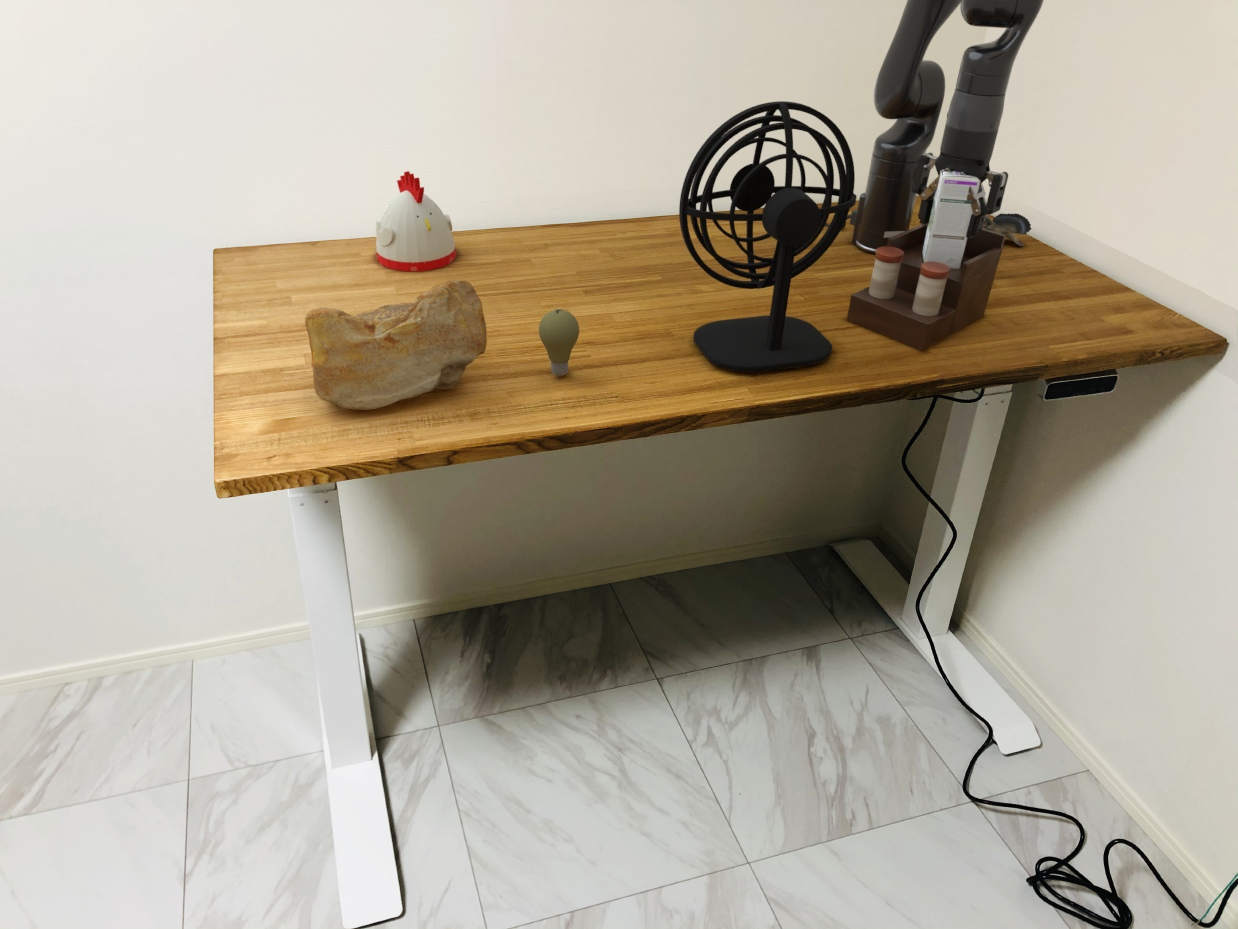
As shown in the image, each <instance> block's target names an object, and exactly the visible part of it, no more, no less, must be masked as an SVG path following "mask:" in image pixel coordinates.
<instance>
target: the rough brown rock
mask: <svg viewBox="0 0 1238 929" xmlns="http://www.w3.org/2000/svg"><path fill="white" fill-rule="evenodd" d="M483 308H484V307H483V302H482V300H481V297H480V296H479V295H478V293H477V291H476V290H475V288H474V286H473V283H471V282H470V281H467V280H465V279H464V280H463V279H451V280H448V281H445V282H441V283H437V284H435V285H433V286H432V287H431V288H429V289H427V290H425V291H423V292H421V293H420V294H419V295H418V296H417V297H416V299H415V300H414V301H413V302H399V303H393V304H386V305H383V306H379V307H378V308H376V309H372V310H368V311H364V312H362V313H358V314H356V315H353V314H349V313H347V312H345V311H343V310H341V309H338V308H331V307H318V308H312V309H311V310H309V311H308V312H307V313H306V315H305V316H304V317H305V318H304V324H305V329H306V332H307V335H308V336H307V337H308V343H309V347H310V353H311V368H312V373H313V374H312V376H313V378H312V379H313V389H314V391H315V395H316V396H317V397H318V398H319V399H320V400H322V401H324V402H327V403H330V404H334V405H337V406H338V407H340V408H343V409H348V410H360V411H361V410H366V411H370V410H376V409H381V408H384V407H388V406H390V405H393V404H394V403H398V402H400V401H403V400H406V399H412V398H416V397H419V396H420V395H423V394H426V393H429V392H431V391H433V390H434V389H438V390H445V389H452V388H455V387H456V386H457V385H458V384H459V383H460V381H461V380H462V377H463V375H464V372H465V371H466V368H467V366H469V365H470V364H472V363H473V362H474V360H475V359H477V358H478V356H481V355H483V354H485V352H486V349H487V345H488V344H487V343H488V338H487V323H486V320H485V315H484V309H483Z"/></svg>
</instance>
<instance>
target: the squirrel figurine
mask: <svg viewBox="0 0 1238 929" xmlns="http://www.w3.org/2000/svg"><path fill="white" fill-rule="evenodd" d="M1031 226H1032V224H1031V223H1030V221H1029V219H1028V218H1027V217H1025V216H1024V215H1022V214H1020V213H999V214H997V215H996V216H994V217H993V218H992V219H991V218H990V217H989V215H987V214H986V215H985V219H984V223H983V227H982V228H984V229H987V230H990V231H994V232H997V233H1000V234H1003V235H1006V237H1005V238H1007V239H1009V240H1011V241H1012V242H1014V244H1016V245H1017V246H1019V247H1024V246H1025V245H1024V243H1022V242H1021V241H1020V240H1019V239H1018V237H1017V236H1016V235H1015V234H1018V235H1027V233H1029V232H1030V231H1031V230H1032V227H1031Z"/></svg>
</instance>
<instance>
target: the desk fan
mask: <svg viewBox="0 0 1238 929" xmlns="http://www.w3.org/2000/svg"><path fill="white" fill-rule="evenodd" d="M777 111H779V113H780V115H779V114H775V113H776V112H777ZM790 111H798V112H801V113H805V114H808V115H811V116H813V117H815V118H816V119H818V120H819V121H820V122H822V123H823V124H824V125H825V126H826V127H827V128H828V129H829V130H830V132H831V133H832V134H833V135H834V137H835V139H836V141H837V143H838V145H839V147H840V150H841V153H842V156H841V154H840V152H839V150H838V149H837V148H836V146H835V144H834V143H833V142H832V141H831V140H830V139H829V138H828V137H827V136H826V135H824V134H823V133H821V132H819V130H817V129H815V128H813V127H810V126H809V125H807V124H806V123H804V122H802V121H800V120H799V119H796V118H794V117H791V114H790ZM763 113H765V114H764V115H761V116H757V115H760V114H763ZM754 116H757V117H754ZM753 117H754V118H753ZM750 118H751V119H750ZM747 119H748V120H747ZM745 120H746V121H745ZM760 124H761V125H760ZM758 125H760V127H758V128H755V129H753V130H751V131H749V132H748V133H746V134H744V135H743V136H742V137H740V138H739V139H737V140H736V141H734V143H733V144H731V145H730V146H729V147H728V148H727V149H726V150H725V151H724V153H722V155H721V156H720V157H719V159H717V161H716V163H715V165H714V166H713V167H712V169H711V171H710V173H709V175H708V177H707V179H706V181H705V184H704V187H703V190H702V192H701V193H702V194H698V193H699V188H700V184H701V182H702V179H703V176H704V174H705V172H706V170H707V168H708V166H709V164H710V163H711V161H712V160H713V159H714V157H715V156H716V154H717V153H718V152H719V151H720V149H721V148H722V147H723V146H724V145H725V144H726V143H727V142H729V141H730V140H731V139H732V138H734V137H735V136H736V135H738V134H740V133H741V132H743V131H745V130H747V129H749V128H751V127H755V126H758ZM779 130H784V140H785V142H784V141H783V140H780V139H778V138H774V137H767V133H770V132H774V131H779ZM793 130H798V131H802V132H805V133H808V134H809V135H810V136H811V137H812V138H813V139H814V141H815V142H816V143H817V145H818V148H819V149H820V151H821V153H822V156H823V159H824V162H825V168H826V169H825V170H826V171H825V170H824V169H823V168H822V166H821V165H820V164H818V162H816V161H815V160H813V159H811V158H810V157H808V156H806V155H803V154H800V153H799V154H798V152H797V151H796V150H795V149H794V132H793ZM764 143H774V144H779V145H781V146H783V147H785V153H781V154H777V155H773V156H771V157H769V158H766V159H764V160H763V161H761V156H762V152H763V148H764ZM753 144H756V145H755V149H754V153H753V160H752V163H748V164H746V165H744V166H743V167H742V168H740V169H739V170H738V171H737V172H736V173H735V175H733V178H732V179H731V182H730V186H729V189H724V190H718V191H714V188H715V183H716V181H717V178H718V176H719V174H720V172H721V170H722V169H723V167H724V166H725V165H726V163H727V162H728V161H729V160H730V159H731V157H733V156H734V155H735V154H737V153H738V152H739V151H740V150H742V149H744V148H746V147H749V146H750V145H753ZM831 155H832V157H833V159H834V161H835V165H836V168H837V172H838V176H839V177H838V178H839V179H838V180H839V188H835V187H834V186H835V185H834V184H835V172H834V170H835V169H834V164H833V159H832V157H831ZM842 157H843V158H842ZM794 159H795V160H796V163H797V165H798V168H799V173H800V185H793V177H794V176H793V173H794ZM781 160H785V176H784V177H785V178H784V185H776V183H775V182H776V181H775V176H774V174H773V172H772V170H771V168H770V167H769V166H768V165H771V163H774V162H777V161H781ZM843 160H844V161H843ZM803 161H806V162H807V163H810V164H811V165H812V166H814V167H815V168H816V169H817V171H818V172H819V174H820V175H821V177H822V179H823V182H824V184H825V187H824V186H811V185H810V186H809V185H807V186H806V184H807V183H806V180H807V179H806V171H805V170H806V169H805V167H804V162H803ZM855 175H856V174H855V163H854V158H853V155H852V151H851V147H850V145H849V143H848V141H847V138H846V136H845V135H844V133H843V132H842V131H841V129H840V128H839V127H838V126H837V124H836V123H835V122H834V121H832V120H831V118H829V117H828V116H827V115H826V114H824V113H822V112H821V111H819V110H817V109H815V108H813V107H811V106H809V105H806V104H803V103H800V102H794V101H786V100H785V101H782V100H781V101H780V100H779V101H770V102H765V103H760V104H756V105H754V106H751V107H748V108H746V109H744V110H741V111H740V112H738V113H736V114H735V115H733V116H731V117H729V118H728V119H727V120H726V121H725V122H723V123H722V124H721V125H719V126H718V127H717V128H716V129H715V130H714V131H713V132H712V133H711V134H710V135H709V136H708V137H707V138H706V140H705V141H704V142H703V144H702V145H701V146H700V148H699V149H698V151H697V152H696V153H695V155H694V157H693V159H692V161H691V163H690V165H689V167H688V169H687V171H686V175H685V177H684V179H683V183H682V187H681V192H680V198H679V206H678V207H679V208H678V209H679V211H678V216H679V224H680V225H679V226H680V231H681V236H682V239H683V242H684V244H685V247H686V249H687V250H688V253H689V255H690V256H691V258H692V259H693V260H694V261H695V263H696V264H697V265H698V266H699V267H700V268H701V269H702V270H703V271H704V272H705V273H706V274H707V275H708V276H710V277H711V278H713V279H714V280H716V281H717V282H720V283H721V284H723V285H726V286H730V287H733V288H737V289H744V290H745V289H746V290H760V289H766V288H770V287H773V290H772V298H771V304H770V313H769V315H757V316H749V317H739V318H731V319H722V320H721V319H720V320H715V321H711V322H707V323H705V324H703V325H700V326H699V327H697V328H696V329H695V331H694V332H693V343H694V344H695V346H696V347H697V348H698V349H699V350H700V352H701V353H702V354H703V355H704V358H706V359H707V361H708V362H710V364H712V365H714V366H715V367H717V368H720V369H724V370H727V371H731V372H736V373H737V372H739V373H763V372H771V371H780V370H786V369H795V368H802V367H808V366H815V365H817V364H820V363H823V362H825V361H827V360H829V358H830V357H831V355H832V352H833V345H832V342H831V341H830V340H829V339H828V338H827V337H826V336H824V334H822V332H820V331H819V330H818V329H817V328H816V327H815V326H814V325H812V324H811V323H810V322H808V321H806V320H804V319H801V318H798V317H793V316H788V315H787V310H788V302H789V295H790V289H791V283H792V282H791V281H792V279H794V278H796V277H797V276H799V275H800V274H802V273H804V272H805V271H806V270H808V269H809V268H810V267H812V266H813V265H814V264H815V263H816V262H817V261H818V260H820V259H821V257H823V255H824V254H825V253H826V252H827V251H828V250H829V248H830V247H831V246H832V244H833V243H834V241H835V240H836V238H837V237H838V236H839V234H840V232H841V231H842V229H841V228H842V227H843V224H844V222H845V220H846V218H847V215H849V212H850V209H851V208H853V207H854V206H855V205H856V202H857V195H856V194H855V193H854V191H855ZM775 185H776V186H775ZM808 194H815V195H816V194H817V195H824V197H823V202H822V205H821V207H819V205H818V204H817V203H816V202H815V200H813V199H812V197H810V196H809V195H808ZM833 196H834V197H838V200H837V203H836V204H835V205H832V203H833ZM723 198H730V200H731V203H730V207H729V212H728V213H727V212H715V211H714V207H713V200H716V199H723ZM697 204H699V209H697ZM762 207H763V210H762V212H761V213H755V211H757V210H759V209H761V208H762ZM736 209H738V210H739V211H742V212H746V213H736ZM831 214H833V217H832V219H831V221H830V223H829V224H828V225H829V227H827V229H826V231H825V232H824V234H823V235H822V236H821V238H820V239H819V240H818V242H817V243H816V244H815V245H814V246H813V247H812V248H811V249H810V250H809V251H808V252H807V253H806V254H804V255H803V256H802V257H800V258H799V259H798V260H796V261H795V262H794V260H795V257H797V256H799V255H800V254H802V253H803V252H804V251H806V250H807V249H808V248H809V247H810V246H812V244H813V243H814V242H816V240H817V239H818V237H819V236H820V235H821V234H822V231H823V230H824V228H825V227H826V226H825V224H827V222H828V219H829V216H830V215H831ZM688 216H689V218H690V222H691V226H692V230H693V232H694V235H695V236H696V239H697V240H698V242H699V243H700V246H702V248H703V249H704V250H705V251H706V252H707V253H708V254H709V255H710V256H711V257H712V258H713V259H714V260H715V261H716V262H717V263H718V264H719V265H720V266H721V267H723V268H724V270H726V271H728V272H729V273H731V274H732V275H735V276H738V277H740V278H744V279H748V280H741V279H740V280H739V279H734V278H730V277H727V276H725V275H722V274H720V273H718V272H717V271H715V270H714V269H712V268H711V267H709V266H708V265H707V264H706V263H705V261H704V260H703V259H702V257H700V255H699V254H698V251H697V249H696V248H695V245H694V243H693V240H692V238H691V234H690V230H689V222H688ZM698 219H699V220H698ZM707 220H711V221H712V222H713V224H714V226H715V227H716V228H717V229H718V230H719V231H720V232H721V233H722V234H723V235H725V236H726V237H727V238H729V239H731V240H734V243H735V245H736V246H737V247H738V248H739V250H741V252H743V253H744V254H745V255H746V260H747V262H738V261H733V260H731V259H727V258H725V257H723V256H721V255H719V254H718V253H717V251H716V249H715V248H714V245H713V244H712V241H711V239H710V236H709V231H708V224H707ZM698 221H699V222H698ZM718 221H723V222H724V221H725V222H729V229H730V233H729V232H727V231H726V230H725V229H724V228H723V227H722V226H721V225H720V223H719V222H718ZM846 221H847V220H846ZM735 222H746V237H740V236H738V235H737V232H736V226H735ZM754 222H761V223H762V226H763V229H764V231H765V232H766V233H765V234H762V235H759V236H755V237H754ZM771 237H772V238H773V239H774V240H775V241H776V245H775V249H774V252H773V257H764V256H763V257H762V256H759V255H756V254H755V253H754V243H755V242H756V243H757V242H760V241H764V240H767V239H770V238H771ZM742 243H746V248H745V247H744V246H743V244H742ZM755 261H757V262H755ZM766 268H769V269H768V271H767V272H757V270H760V269H766ZM745 270H746V271H745Z"/></svg>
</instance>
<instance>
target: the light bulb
mask: <svg viewBox="0 0 1238 929" xmlns="http://www.w3.org/2000/svg"><path fill="white" fill-rule="evenodd" d="M538 335H539V338H540V340H541V342H542V345H543V346H544V348H545V350H546V352H547V356H548V359H549V361H550V372H551V373H552V374H553V375H555V376H556V377H557V378H561V377H564V376H565V375H566V374H567V373H568V372H569V361H570V358H571V354H572V350H573V348H574V347H575V345H576V344H577V341H578V338H579V337H580V325H579V322H578V320H577V318H576V317H575V315H573V314H572V313H571V311H568V310H565V309H561V308H556V309H551V310H550V311H548V312H546V314H544V315H543V316H542V318H541V319H540V322H539V325H538Z"/></svg>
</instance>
